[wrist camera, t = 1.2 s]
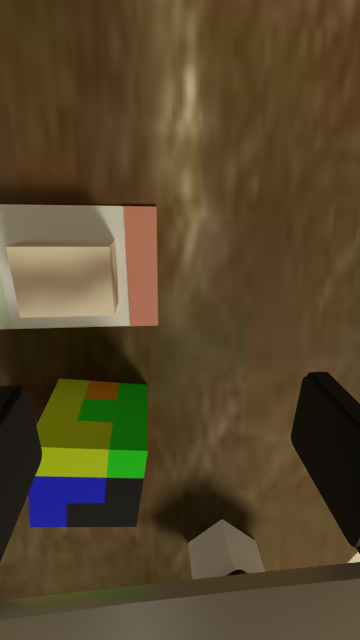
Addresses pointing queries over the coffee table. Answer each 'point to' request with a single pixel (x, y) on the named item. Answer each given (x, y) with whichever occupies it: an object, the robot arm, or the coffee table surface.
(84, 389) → the puzzle toy
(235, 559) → the black-topped pedestal
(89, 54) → the coffee table surface
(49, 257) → the birch block
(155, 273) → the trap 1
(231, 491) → the coffee table surface
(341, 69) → the coffee table surface
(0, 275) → the lane
